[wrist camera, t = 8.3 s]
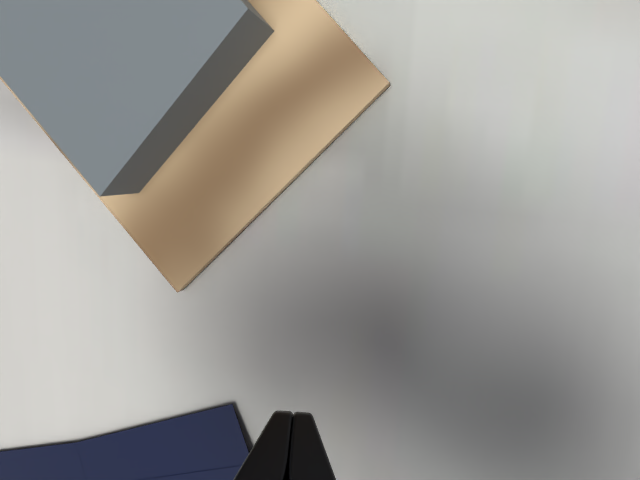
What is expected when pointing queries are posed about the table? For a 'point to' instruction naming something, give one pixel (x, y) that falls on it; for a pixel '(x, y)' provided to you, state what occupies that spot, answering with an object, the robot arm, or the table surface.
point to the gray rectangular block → (124, 75)
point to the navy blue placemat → (141, 452)
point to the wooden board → (250, 140)
